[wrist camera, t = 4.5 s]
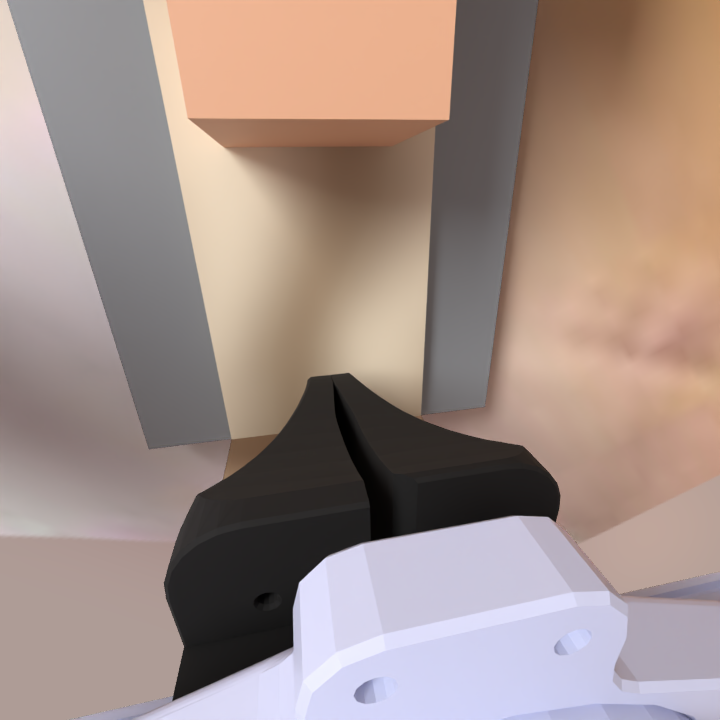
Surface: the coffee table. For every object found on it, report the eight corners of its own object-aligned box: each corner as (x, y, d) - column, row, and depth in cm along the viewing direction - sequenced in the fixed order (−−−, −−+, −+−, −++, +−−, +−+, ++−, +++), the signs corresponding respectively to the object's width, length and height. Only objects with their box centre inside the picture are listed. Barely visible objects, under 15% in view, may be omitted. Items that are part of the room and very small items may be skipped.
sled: (238, 455, 14) (219, 561, 10) (116, -164, 8) (-78, -575, 4) (415, 431, 15) (463, 518, 11) (440, -125, 9) (576, -406, 5)
